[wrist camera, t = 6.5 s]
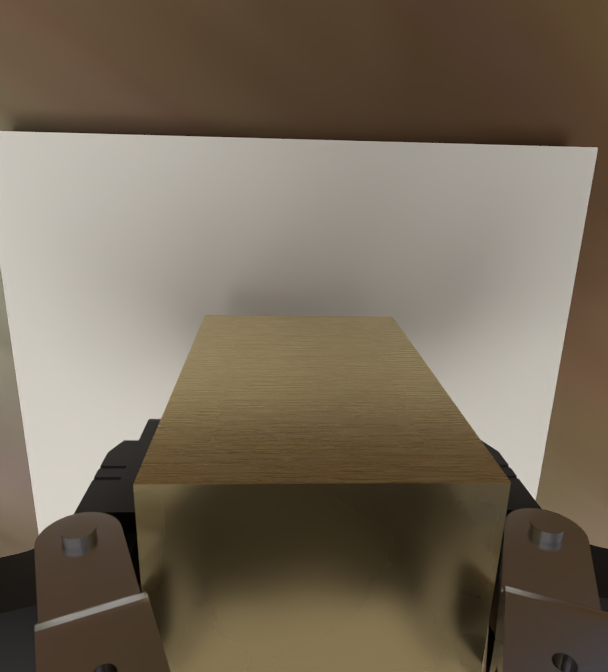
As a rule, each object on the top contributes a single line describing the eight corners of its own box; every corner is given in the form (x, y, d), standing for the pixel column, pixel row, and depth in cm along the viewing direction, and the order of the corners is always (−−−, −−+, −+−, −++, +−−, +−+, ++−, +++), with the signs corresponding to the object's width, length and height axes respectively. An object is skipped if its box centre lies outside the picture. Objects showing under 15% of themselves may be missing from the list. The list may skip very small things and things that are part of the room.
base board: (565, 147, 19) (598, 147, 17) (507, 507, 23) (528, 538, 21) (12, 132, 18) (-19, 130, 16) (60, 510, 22) (40, 544, 20)
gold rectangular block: (392, 316, 15) (511, 482, 8) (379, 479, 17) (468, 750, 9) (205, 314, 15) (133, 485, 7) (210, 479, 16) (155, 761, 9)
